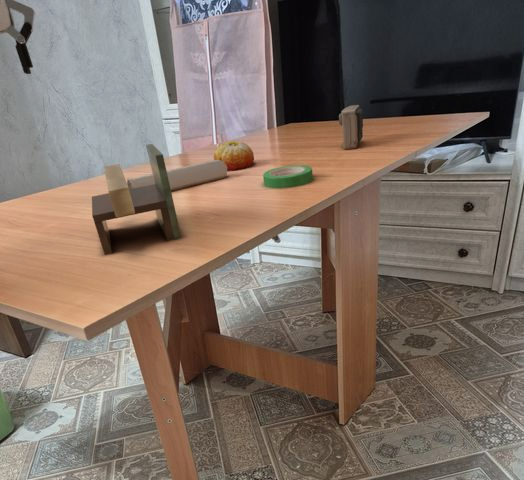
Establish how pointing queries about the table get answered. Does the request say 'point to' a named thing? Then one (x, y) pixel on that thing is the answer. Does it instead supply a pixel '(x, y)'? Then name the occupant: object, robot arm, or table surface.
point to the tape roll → (288, 176)
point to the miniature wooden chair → (141, 203)
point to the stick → (118, 191)
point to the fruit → (235, 155)
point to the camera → (351, 126)
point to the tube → (185, 175)
